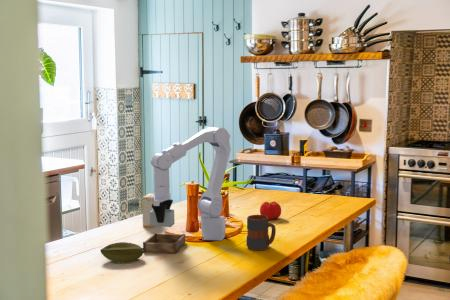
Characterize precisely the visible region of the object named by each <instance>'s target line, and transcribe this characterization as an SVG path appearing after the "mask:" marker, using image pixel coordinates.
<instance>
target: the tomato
mask: <svg viewBox="0 0 450 300" xmlns="http://www.w3.org/2000/svg"><path fill="white" fill-rule="evenodd" d="M281 214H282V207H281V205H280V203H278V202H277V201H275V200H274V201H270V202H269V201H264V202H263V203H262V204H260V208H259V215H265V216H267V217H268V221H271V220H272V221H273V220H274V219H275V220H276V219H279V218H280V217H281Z"/></svg>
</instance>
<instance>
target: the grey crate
mask: <svg viewBox="0 0 450 300" xmlns="http://www.w3.org/2000/svg"><path fill="white" fill-rule="evenodd" d="M174 225H175V209H171V208H170V209H166V210H165V215H164V222H163V223H158V222H157V218H156V215H155V212H154V210H152V211H150V226H153V227H155V228H156V227H160V228H161V227H162V228H172V227H173V226H174Z"/></svg>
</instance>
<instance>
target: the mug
mask: <svg viewBox="0 0 450 300" xmlns="http://www.w3.org/2000/svg"><path fill="white" fill-rule="evenodd" d="M246 220H247V221H246V229H247V230H246V231H247V235H246V247H247V249H249V250H250V251H251V250H252V251H266V250H268V249H269V247H270V245H271V244H273V242H274V240H275V239H276V238H275V236H276V232H277V231H276V226H275V224H274V223H272V222H269V220H268V217H267V216H265V215H261V214H252V215H251V214H250V215H248V216H247V218H246ZM269 228H271V232H270V233H271V234H269Z"/></svg>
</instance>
